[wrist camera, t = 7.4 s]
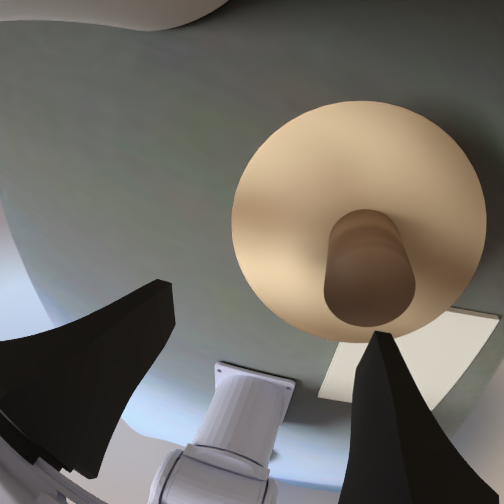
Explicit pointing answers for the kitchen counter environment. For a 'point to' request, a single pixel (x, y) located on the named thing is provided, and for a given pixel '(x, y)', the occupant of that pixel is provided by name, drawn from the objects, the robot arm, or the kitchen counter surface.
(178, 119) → the kitchen counter surface
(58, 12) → the cylinder vase
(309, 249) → the lid
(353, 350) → the mat
